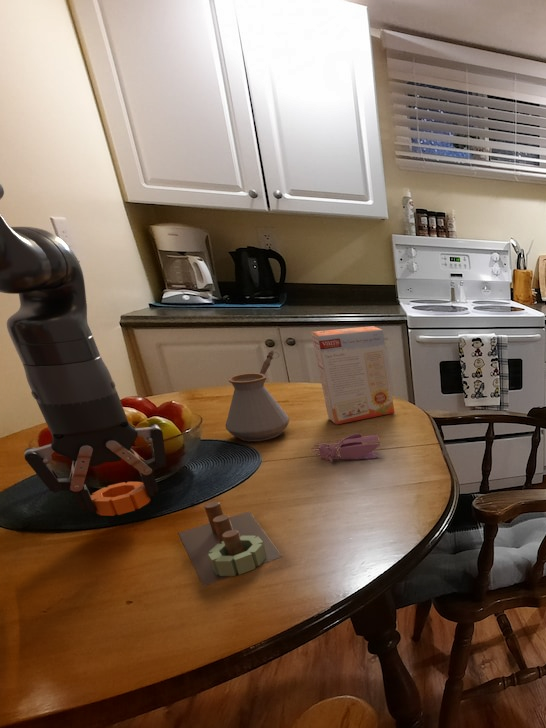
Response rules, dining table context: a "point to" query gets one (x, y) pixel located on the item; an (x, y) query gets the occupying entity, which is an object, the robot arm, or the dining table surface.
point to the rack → (218, 531)
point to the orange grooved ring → (120, 498)
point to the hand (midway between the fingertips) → (122, 502)
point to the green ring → (238, 557)
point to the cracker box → (353, 373)
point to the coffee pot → (255, 407)
